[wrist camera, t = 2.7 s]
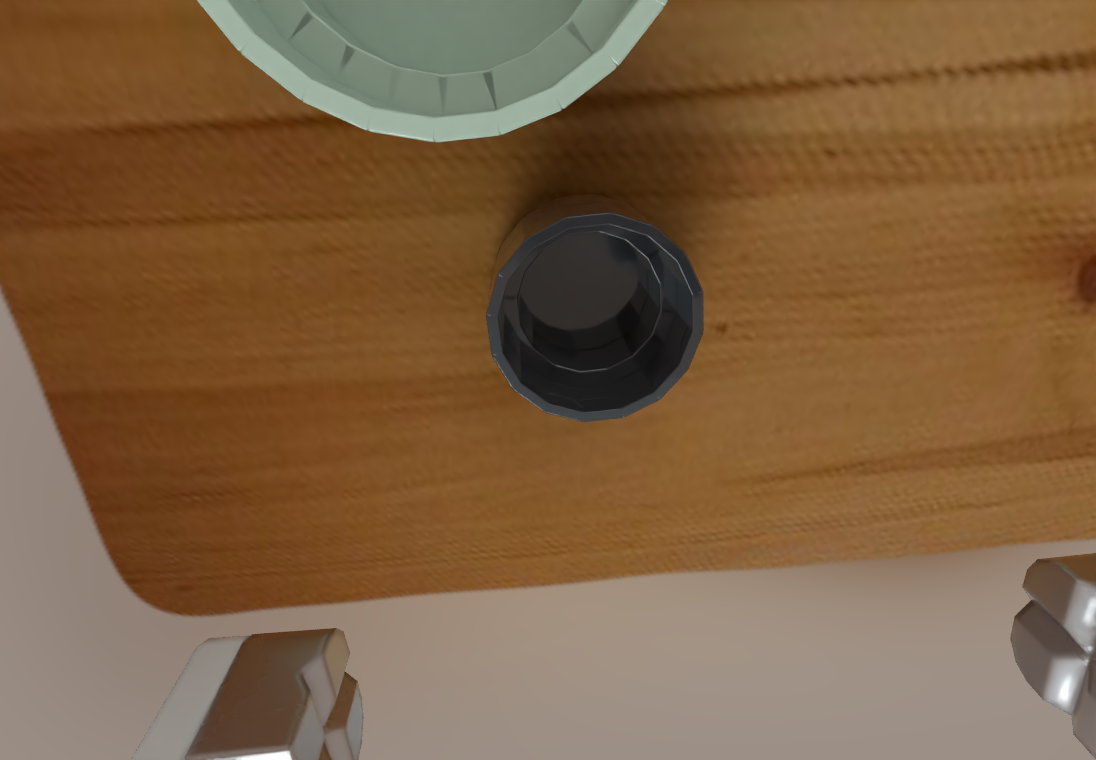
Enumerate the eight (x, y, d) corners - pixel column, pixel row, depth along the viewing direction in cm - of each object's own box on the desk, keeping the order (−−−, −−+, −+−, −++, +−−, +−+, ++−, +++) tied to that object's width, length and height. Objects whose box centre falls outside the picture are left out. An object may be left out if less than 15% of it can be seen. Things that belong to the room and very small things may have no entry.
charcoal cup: (667, 183, 23) (703, 202, 18) (672, 357, 25) (704, 409, 21) (480, 203, 23) (473, 227, 18) (504, 376, 25) (502, 431, 21)
